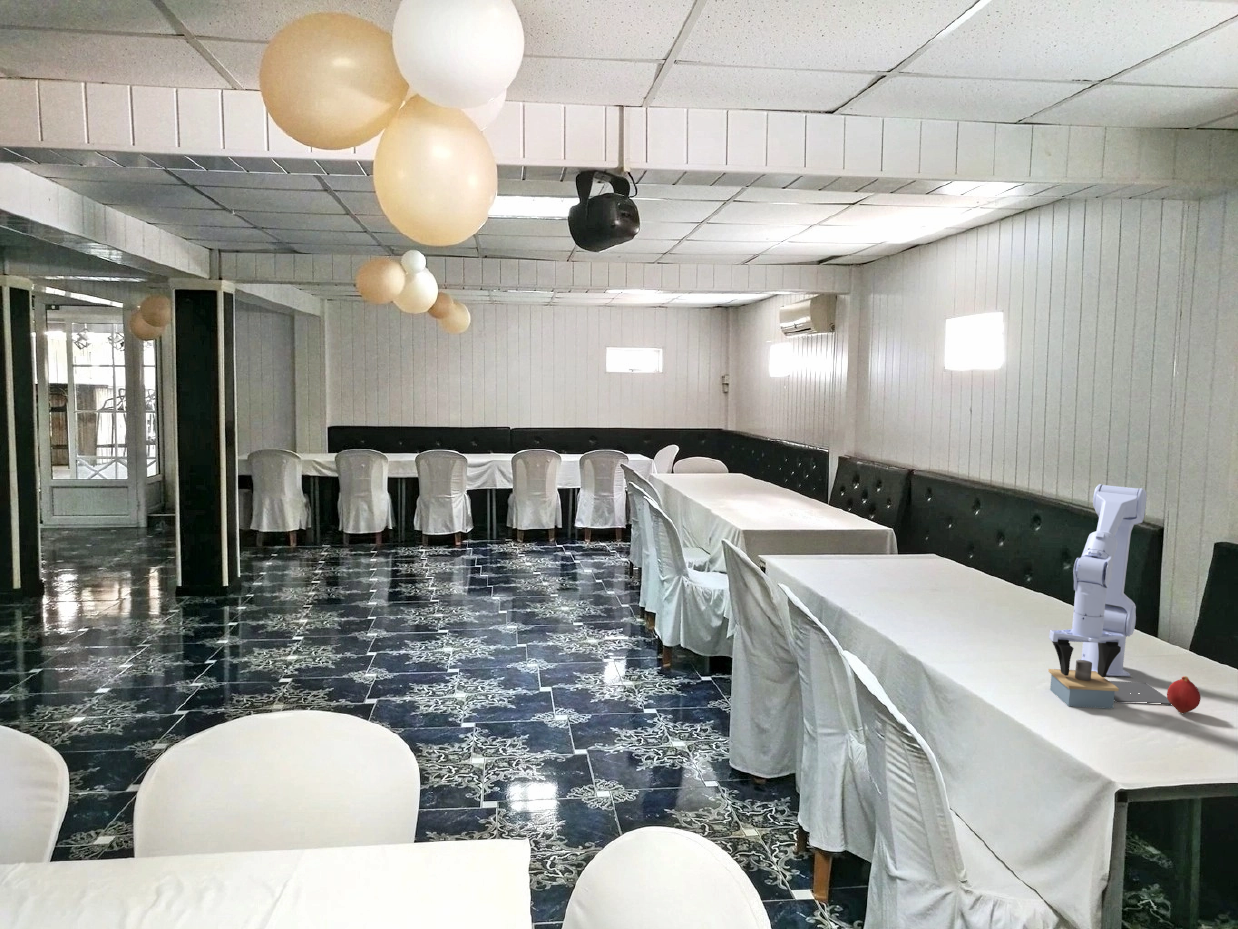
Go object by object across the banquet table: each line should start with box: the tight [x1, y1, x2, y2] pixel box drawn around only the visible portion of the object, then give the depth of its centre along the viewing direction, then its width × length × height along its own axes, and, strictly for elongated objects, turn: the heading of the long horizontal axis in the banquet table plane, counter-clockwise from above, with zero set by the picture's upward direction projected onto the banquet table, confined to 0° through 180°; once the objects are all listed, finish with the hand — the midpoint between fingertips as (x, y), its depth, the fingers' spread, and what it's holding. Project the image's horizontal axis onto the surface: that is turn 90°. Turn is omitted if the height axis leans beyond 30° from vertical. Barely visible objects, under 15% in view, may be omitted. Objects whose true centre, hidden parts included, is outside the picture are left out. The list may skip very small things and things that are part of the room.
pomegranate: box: [1166, 675, 1201, 714], centre depth 176 cm, size 6×6×8 cm
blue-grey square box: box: [1049, 673, 1115, 709], centre depth 182 cm, size 9×9×4 cm
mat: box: [1108, 680, 1171, 704], centre depth 187 cm, size 12×12×1 cm
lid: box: [1048, 659, 1119, 691], centre depth 182 cm, size 10×10×4 cm
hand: (1083, 674), depth 182 cm, fingers open, 7 cm apart
